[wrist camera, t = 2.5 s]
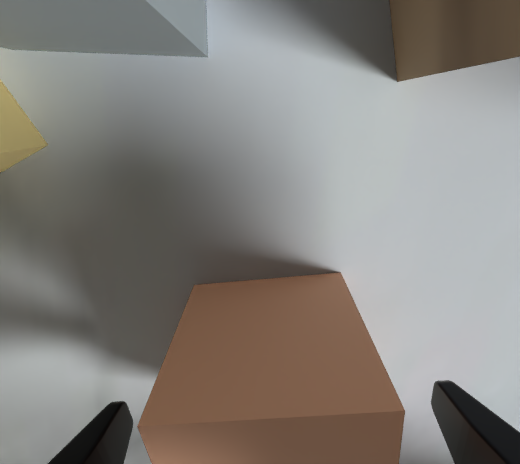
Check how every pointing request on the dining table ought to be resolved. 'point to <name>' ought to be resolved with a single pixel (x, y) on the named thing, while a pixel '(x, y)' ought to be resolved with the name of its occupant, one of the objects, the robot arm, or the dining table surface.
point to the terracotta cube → (273, 379)
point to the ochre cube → (16, 132)
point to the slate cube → (106, 26)
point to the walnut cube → (452, 34)
